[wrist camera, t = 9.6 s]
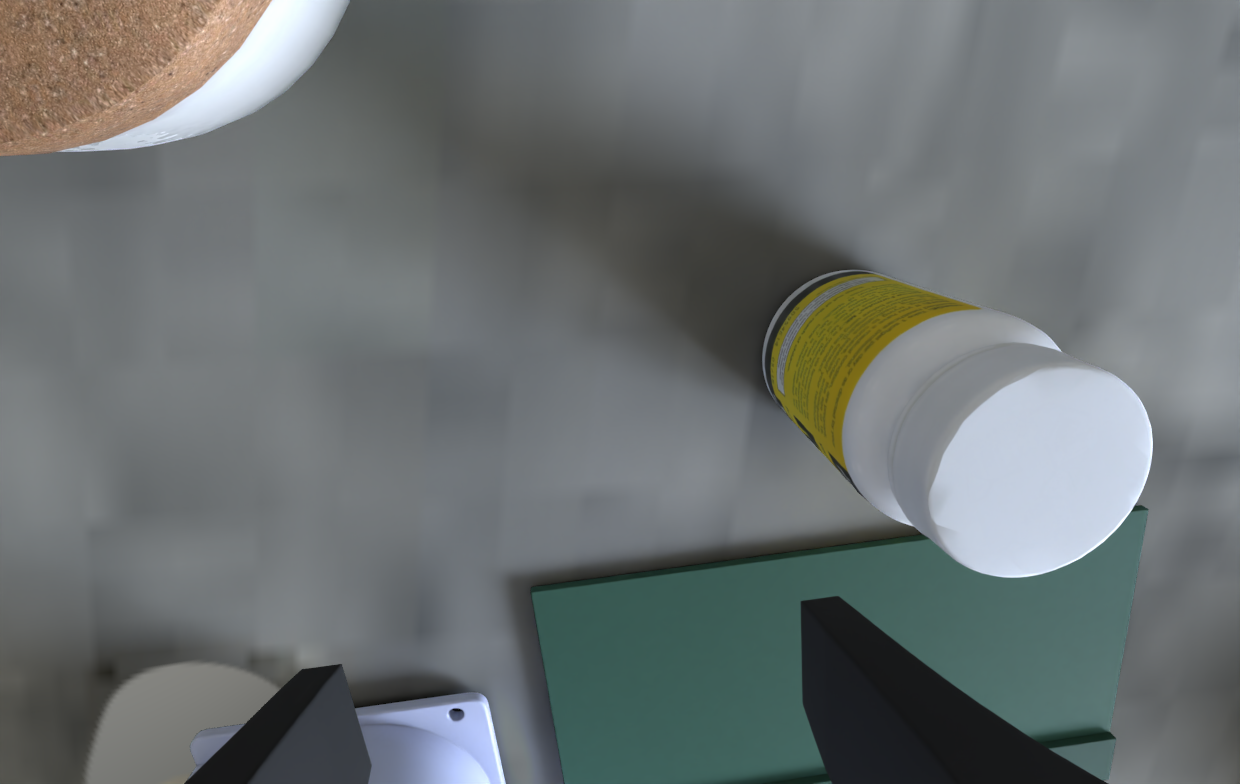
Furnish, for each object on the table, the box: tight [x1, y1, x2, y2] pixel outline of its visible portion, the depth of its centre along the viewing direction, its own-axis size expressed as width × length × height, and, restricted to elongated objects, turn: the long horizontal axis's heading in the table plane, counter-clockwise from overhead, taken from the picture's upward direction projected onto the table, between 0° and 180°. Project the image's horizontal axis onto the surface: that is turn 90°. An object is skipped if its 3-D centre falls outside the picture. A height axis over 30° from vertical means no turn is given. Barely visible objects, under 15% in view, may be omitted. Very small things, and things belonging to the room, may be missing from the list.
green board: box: [531, 505, 1148, 784], centre depth 22 cm, size 20×12×1 cm, turn 96°
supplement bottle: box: [762, 270, 1153, 578], centre depth 15 cm, size 5×5×8 cm
